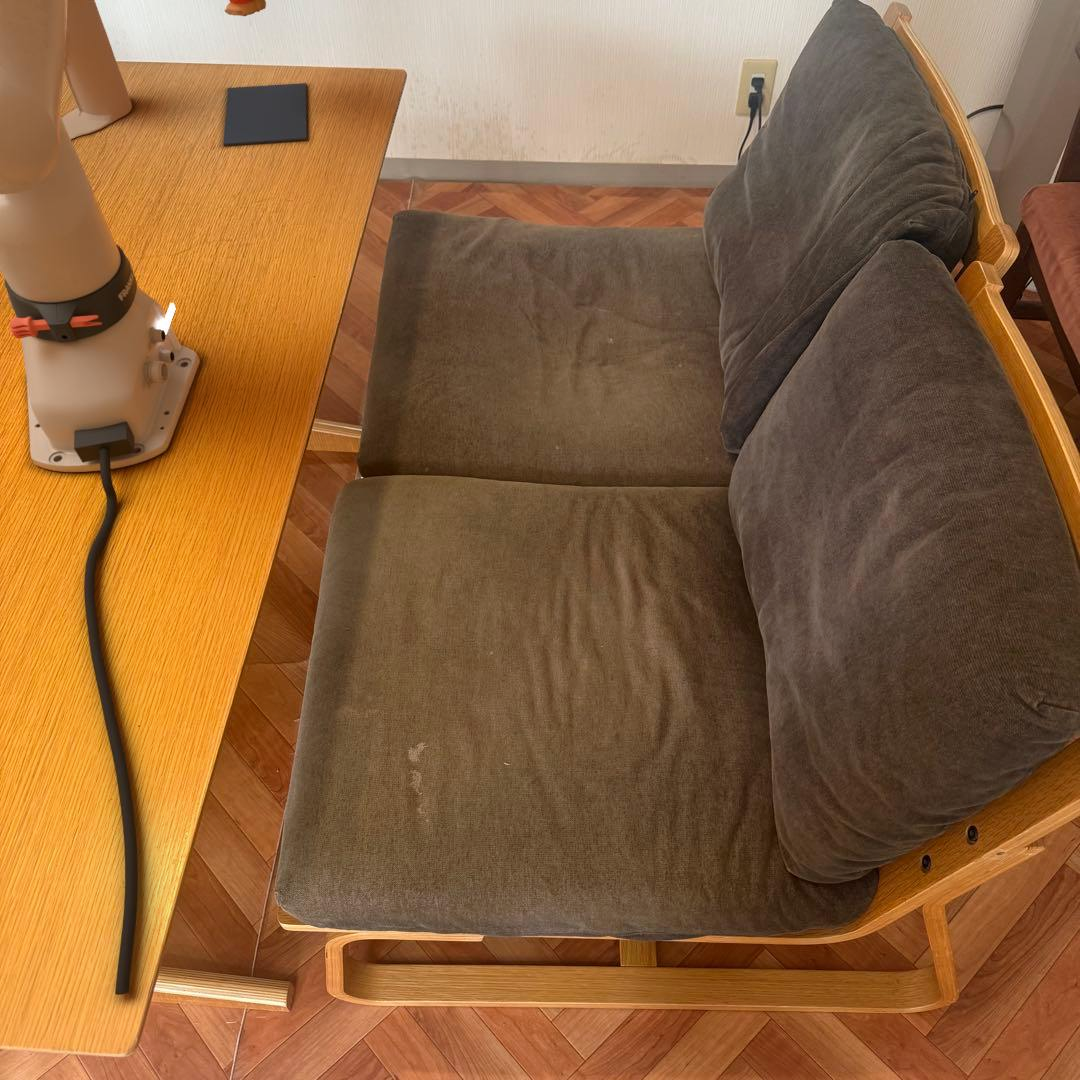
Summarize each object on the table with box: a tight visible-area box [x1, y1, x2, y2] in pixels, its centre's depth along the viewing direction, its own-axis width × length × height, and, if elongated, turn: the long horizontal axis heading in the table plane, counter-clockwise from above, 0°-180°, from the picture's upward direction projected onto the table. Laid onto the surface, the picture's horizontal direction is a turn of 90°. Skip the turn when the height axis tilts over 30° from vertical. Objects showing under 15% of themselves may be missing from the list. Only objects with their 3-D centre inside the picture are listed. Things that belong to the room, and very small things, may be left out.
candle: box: [61, 0, 133, 140], centre depth 126 cm, size 7×14×20 cm, turn 148°
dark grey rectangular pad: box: [222, 82, 308, 147], centre depth 135 cm, size 16×12×1 cm
